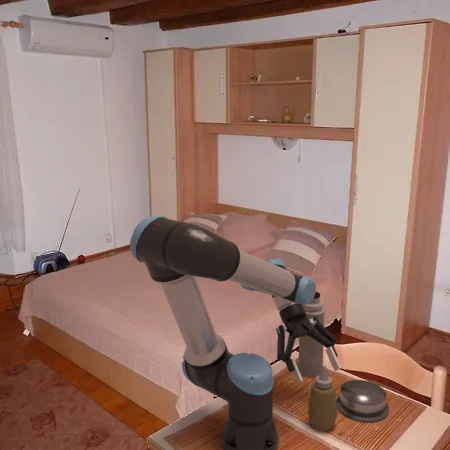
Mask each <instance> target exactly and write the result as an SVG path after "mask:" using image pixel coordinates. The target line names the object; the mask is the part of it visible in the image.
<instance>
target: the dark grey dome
mask: <svg viewBox="0 0 450 450" xmlns="http://www.w3.org/2000/svg"><path fill="white" fill-rule="evenodd" d="M386 400H387V393H386V391H385V389H384V388H383V387H382V386H380V385H379V384H377V383H375V382H373V381H368V380H364V379H363V380H362V379H351V380H349V381H345V382H344V383H343V384H341V386H340V389H339V395H338V396H337V397H336V403H337V411H338V412H339V413H340V414H342V416H345V417H346V418H347V419H349V420H352V421H354V422H359V423H367V424H371V423H378V422H380V421H383V420H385V419H386V418H387V417H388V416H389V413H390V408H389V404H388V402H387V401H386Z"/></svg>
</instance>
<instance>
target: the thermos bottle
mask: <svg viewBox="0 0 450 450" xmlns="http://www.w3.org/2000/svg"><path fill="white" fill-rule="evenodd" d="M320 297H321V293H320V292H318V291H316V292H315V296H314V298H313V300H312V301H311V302H310V303H309V304H307V305H303V304H302V305H303V307H304V309H305V312H306V316H307V318H308V319H312V318H313V317H314V316H316V317H317V318H318V320H319V322H320V323H321V324H322V325H323V326H324V327H325V309H324V307H323V306H324V304H323V302H322V301H321V298H320ZM310 326H311V324H310ZM311 327H313V326H311ZM313 328H314V327H313ZM314 329H315V328H314ZM315 331H317V330H316V329H315ZM317 332H318V331H317ZM318 333H319V332H318ZM323 359H324V346H323V345H322V344H320V343H319V342H317V341H316V340H314V339H313V338H311V337H309V336H307V335H306V336H304V337H299V338H298V365H297V367H298V369H299V372H300V374H301V376H304V377H308V378H316V376H318V375H320V372H321V368H322V366H324V365H323V364H324V360H323Z"/></svg>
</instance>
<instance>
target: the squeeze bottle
mask: <svg viewBox="0 0 450 450" xmlns="http://www.w3.org/2000/svg"><path fill="white" fill-rule="evenodd" d="M336 390H337V389H336V387H335V385H334V384H333V378H332V377H331V376H329V373H328V369H327V366H326V365H323V366H322V368H321V372H320V375H318V376H316V377H314V383H312V385H311V388H310V394H309V395H310V396H309V402H308V407H307V408H308V409H307V414H308V417H309V421H310V424H311V426H312V428H313V429H315V430H316V431H317V430H318V431H321V432H328V431H330V430H331V429H332V428H333V427H334V424H335V422H336V419H337V417H338V409H337V403H336V400H337V391H336Z"/></svg>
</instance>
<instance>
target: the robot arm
mask: <svg viewBox="0 0 450 450" xmlns="http://www.w3.org/2000/svg"><path fill="white" fill-rule="evenodd" d="M129 247H130V252H131V255H132V256H133V258H134V259H135V260H137V261H138V262H139V263H144V265H145V266H146V269H147V271H148V274H149V276H150V279H151V280H152V281H153V282H156V283H158V284H160V286H161V289H162V291H163V293H164V296H165V298H166V300H167V303H168V305H169V307H170V310H171V312H172V315H173V318H174V320H175V322H176V325H177V327H178V329H179V332H180V335H181V337H182V339H183V341H184V344H185V346H186V347H185V349H184V353H183V356H182V359H183V361H182V362H181V369H182V373H183V375H184V377H185V378H186V379H187V380H188V381H189V382H190V383H191V384H193V385H194V386H196V387H198V388H201V389H202V390H205V391H207V392H209V393H210V394H213V395H214V396H217V398H220V399H221V400H224V401H226V402H227V406H228V408H227V411H228V412H227V413H228V415H227V418H226V421H225V424H224V427H223V430H222V432H221V433H222V434H221V435H222V436H221V445H222V448H223V449H224V450H278V449H279V447H280V446H279V445H280V435H279V430H278V428H277V425H276V422H275V419H274V416H273V410H274V407H273V403H274V401H273V400H274V397H273V396H274V376H273V375H274V372H273V368H272V365H271V364H270V363H269V361H268V360H267V359H266V358H264V357H263V356H262V355H259V354H257V353H253V352H251V353H248V352H239V353H235V354H233V353H231V352H230V351H229V349H228V346H227V343H226V341H225V339H224V338H223V336H221V335H220V334H217V332H216V330H215V327H214V324H213V322H212V319H211V316H210V314H209V312H208V307H207V305H206V302H205V300H204V297H203V294H202V292H201V289H200V286H199V284H198V281H197V279H196V277H198V278H203V279H210V280H214V281H216V282H221V283H222V282H227V281H230V282H234V283H237V284H239V285H240V286H241V288H243V289H244V290H247V291H251V292H255V291H256V292H260V293H263V294H266V295H270V296H271V297H272V300H273V302H274V305H275V307H276V309H277V311H278V312H279V313H278V314H279V317H280V319H281V322H282V323H283V324H284V325H283V324H279V326H277V327H276V329H275V331H276V334H277V347H276V349H277V350H276V351H277V352H276V355H277V356H276V360H277V361H279V362H280V361H282V363H285V366H286V368H287V370H288V372H289V373H291V374H292V376H293V379H294V381H295V384H296V385H297V384H300V383H301V382H303V381H304V380H303V377H302V375H301V374H300V372H299V369H298V365H297V362H296V359H295V358H294V357H292V355H293V350H294V346H295V342H296V339H299V337H304V336H306V335H307V336H309V337H311V338H313V339H314V340H316V341H317V342H319V343H320V344H322V345H323V347H325V348H326V349H325V350H324V351H325V353H326V355H327V358H328V360H329V362H330V364H331V366H332V368H333V371H334V372H337V371H339V370H340V369H342V367H341V364H340V361H339V360H338V353H337V351H336V348H335V345H336V344H337V343H338V338H336V337H335V336H334V335H333V334H332V333H331V332H330V331H329V330H328V329H327V328H326V327H325V325H324V326H323V325H322V324H321V323H320V322H319V320H318V318H317V317H316V316H314V317H313V318H312V319H308V318H307V316H306V312H305V309H304V307H303V305H307V304H309V303H310V302H311V301H312V300H313V298H314V296H315V292H317V286H316V285H317V284H316V282H315V280H313V279H312V278H310V277H307V276H305V275H299V274H297V273H294V272H292V271H289V270H288V268H287V266H286V265H285V263H284V261H283V260H282V259H281V258H271V259H269V260H264V259H262V258H259V257H257V256H255V255H253V254H249V253H247V252H245V251H243V250H241V249H240V248H239V246H238V245H237V244H236V243H234V242H233V241H231V240H228V239H227V238H224V237H223V236H220V235H219V234H217V233H215V232H213V231H211V230H209V229H207V228H205V227H203V226H201V225H198V224H196V223H192V222H186V221H181V220H175V219H172V218H171V219H170V218H167V217H166V216H157V215H156V216H148V217H145V218H143V219H142V220H141V221H140V222H139V223H137V225H136V226H135V228H134V229H133V233H132V235H131V237H130V242H129ZM302 304H303V305H302ZM310 324H311V326H313V327H314V328H315V329H316V330H317V331H318V332H319V333H318V332H317V331H315V329H314V328H313V327H311V326H310ZM286 332H287V333H288V338H287V343H286ZM285 345H286V347H285Z"/></svg>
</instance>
